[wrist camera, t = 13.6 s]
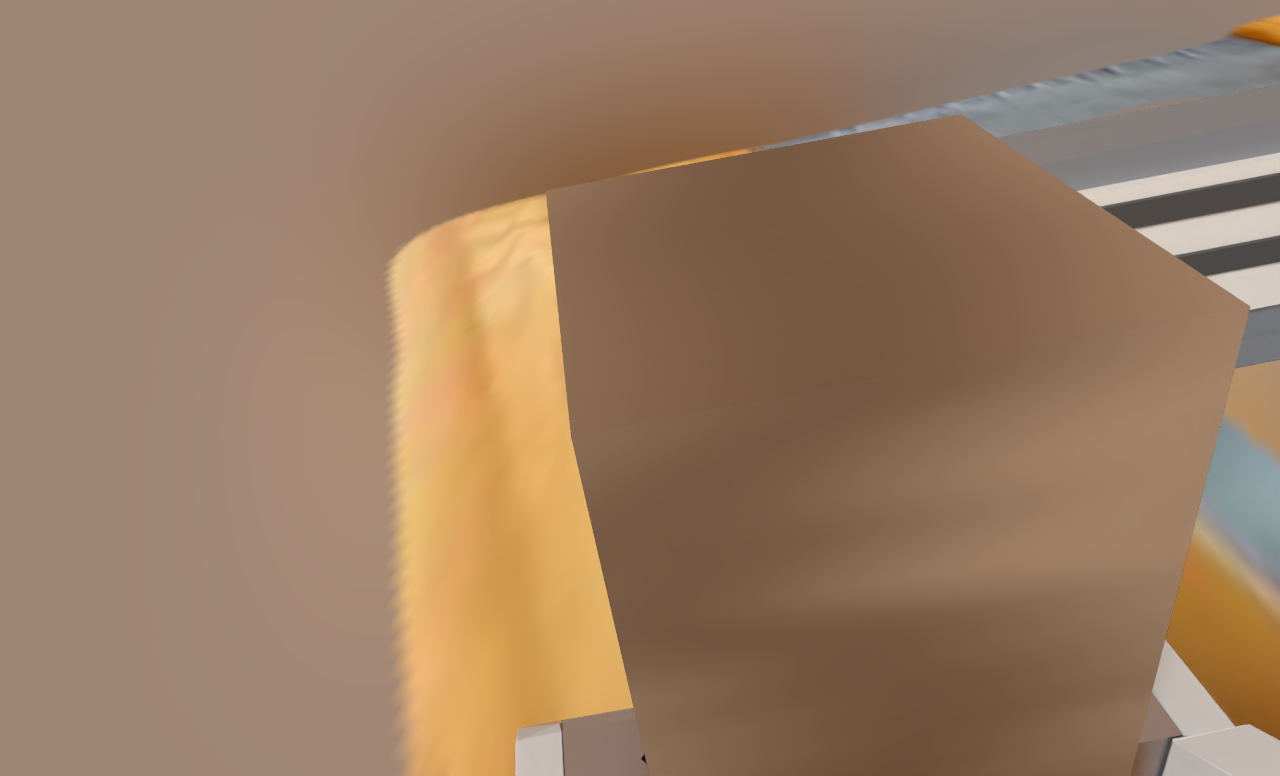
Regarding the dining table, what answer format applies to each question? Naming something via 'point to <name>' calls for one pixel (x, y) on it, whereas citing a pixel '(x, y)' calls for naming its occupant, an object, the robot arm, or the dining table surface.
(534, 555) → the dining table surface
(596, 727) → the robot arm
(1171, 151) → the label stand
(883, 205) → the walnut block
